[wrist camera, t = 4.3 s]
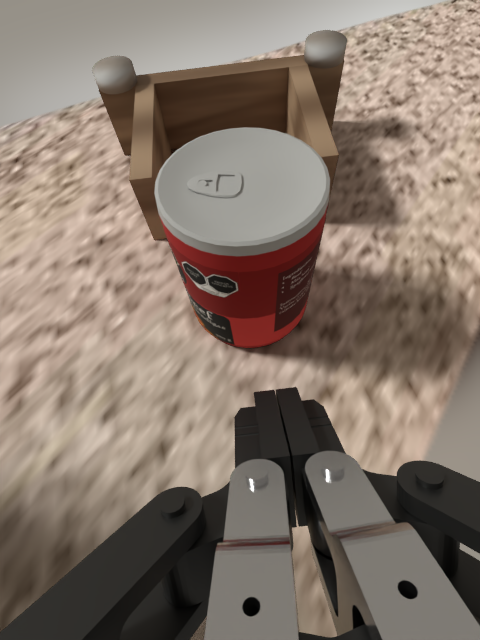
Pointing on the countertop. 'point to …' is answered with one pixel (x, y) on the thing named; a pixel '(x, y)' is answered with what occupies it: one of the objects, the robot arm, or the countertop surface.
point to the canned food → (245, 229)
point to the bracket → (220, 107)
